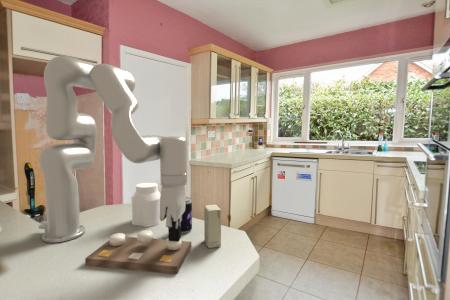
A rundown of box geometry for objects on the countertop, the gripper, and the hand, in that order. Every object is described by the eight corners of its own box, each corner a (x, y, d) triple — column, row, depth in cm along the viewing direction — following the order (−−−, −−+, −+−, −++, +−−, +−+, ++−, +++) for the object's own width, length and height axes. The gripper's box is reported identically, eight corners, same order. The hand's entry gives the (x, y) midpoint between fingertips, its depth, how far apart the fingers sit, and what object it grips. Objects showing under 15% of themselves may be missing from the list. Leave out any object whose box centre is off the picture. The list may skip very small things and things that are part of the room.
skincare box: (221, 247, 79) (221, 209, 77) (208, 248, 77) (208, 211, 76) (216, 238, 85) (216, 203, 84) (203, 239, 84) (204, 204, 82)
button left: (106, 245, 74) (106, 239, 73) (114, 238, 78) (114, 232, 78) (120, 246, 73) (120, 240, 73) (127, 239, 77) (127, 233, 77)
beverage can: (188, 234, 87) (188, 201, 86) (173, 233, 88) (173, 200, 87) (194, 228, 93) (194, 197, 92) (179, 226, 94) (179, 196, 93)
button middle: (134, 242, 72) (134, 236, 72) (141, 236, 77) (141, 229, 76) (148, 243, 72) (148, 237, 72) (155, 237, 76) (155, 230, 76)
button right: (164, 249, 71) (164, 242, 71) (169, 242, 76) (169, 236, 75) (178, 250, 71) (178, 243, 71) (183, 243, 75) (183, 237, 75)
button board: (85, 265, 67) (85, 257, 67) (114, 241, 81) (114, 235, 81) (177, 273, 64) (177, 265, 64) (191, 247, 78) (191, 241, 78)
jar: (127, 224, 96) (126, 186, 94) (142, 215, 105) (142, 181, 103) (152, 228, 92) (152, 189, 91) (166, 219, 101) (166, 183, 100)
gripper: (170, 174, 79) (171, 229, 81) (150, 184, 64) (152, 251, 66) (193, 174, 78) (193, 230, 80) (178, 185, 63) (179, 253, 65)
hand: (174, 239), depth 73 cm, fingers closed
